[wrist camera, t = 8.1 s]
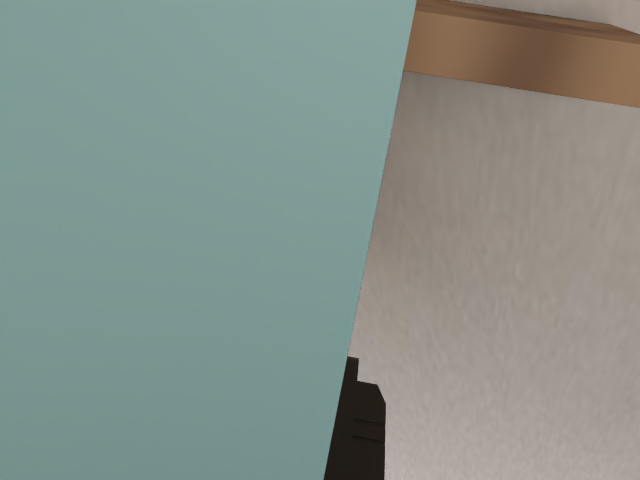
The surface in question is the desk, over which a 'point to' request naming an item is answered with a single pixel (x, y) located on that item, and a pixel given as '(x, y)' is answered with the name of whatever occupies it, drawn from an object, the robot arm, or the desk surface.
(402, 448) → the desk surface
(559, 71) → the slotted board
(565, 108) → the desk surface
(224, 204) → the notched plate
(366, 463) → the robot arm
